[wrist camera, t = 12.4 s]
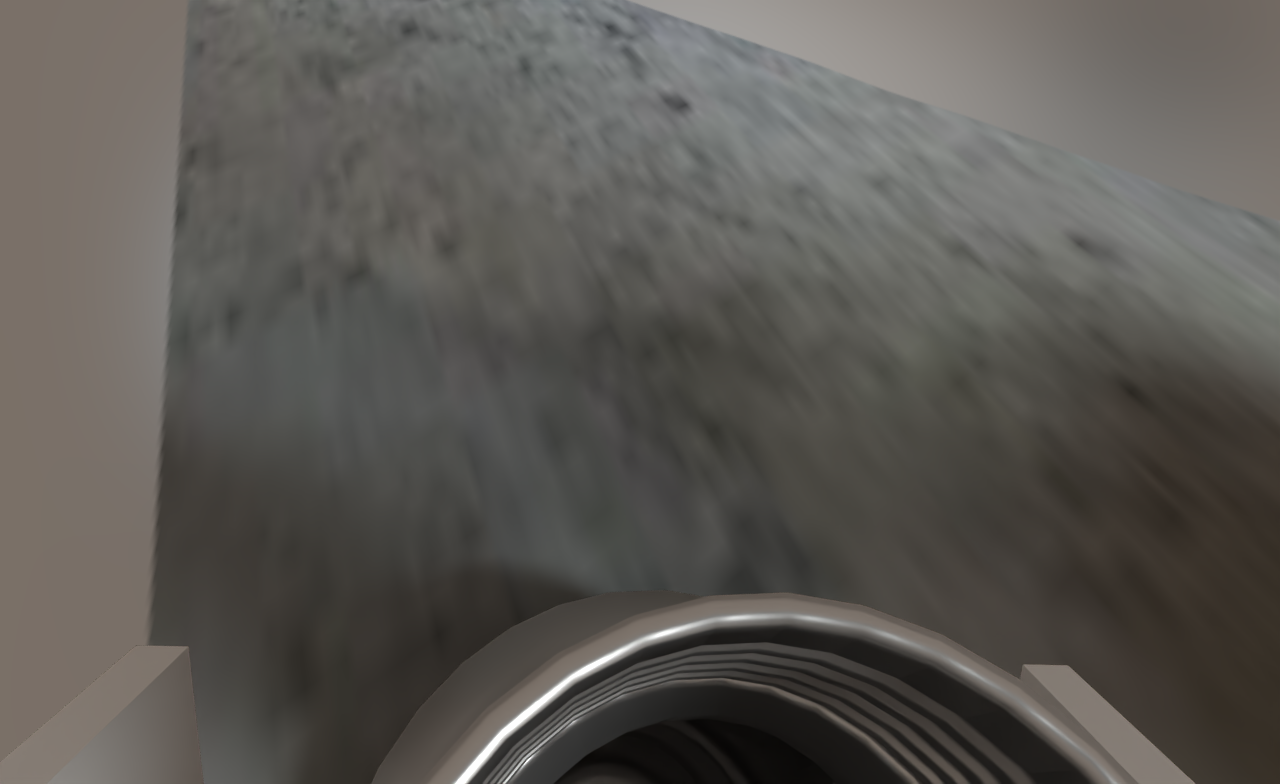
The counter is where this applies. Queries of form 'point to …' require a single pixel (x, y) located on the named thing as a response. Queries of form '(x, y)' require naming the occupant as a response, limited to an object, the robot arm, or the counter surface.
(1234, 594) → the counter surface
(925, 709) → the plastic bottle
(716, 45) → the counter surface
